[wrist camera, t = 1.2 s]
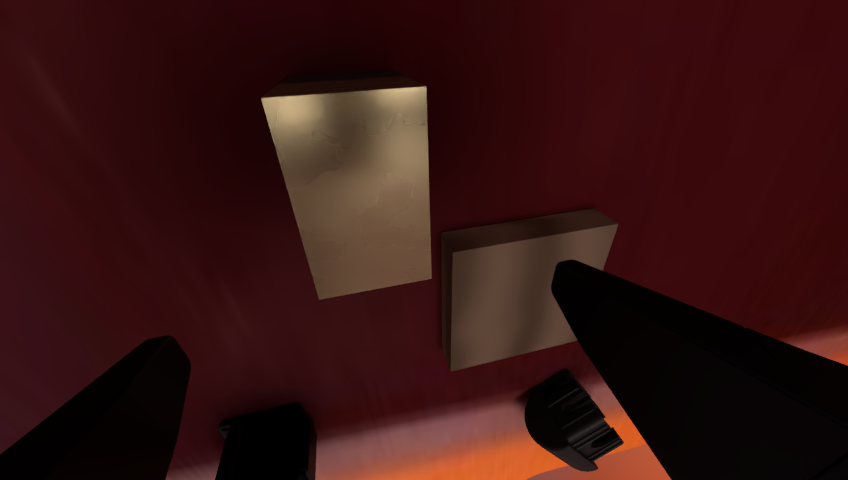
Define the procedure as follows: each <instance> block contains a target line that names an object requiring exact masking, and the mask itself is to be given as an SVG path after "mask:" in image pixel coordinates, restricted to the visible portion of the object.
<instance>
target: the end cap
mask: <svg viewBox="0 0 848 480" xmlns="http://www.w3.org/2000/svg"><path fill="white" fill-rule="evenodd" d="M604 418H605V416H604V415H603V413H602V412H601V410H600V409H599V408H598V406H597V405H596V404H595V402H594V401H593V400H592V399H591V397H590V396H589V394H588V393H587V392H586V390H585V389H584V388H583V387H582V386H581V385H580V383H579V382H578V381H577V380H576V379H575V378H574V376H573V375H572V374H571V373H570V372H569V371H568V369H563V370H561V371H559V372H558V373H556V374H555V375H553V376H551V377H550V378H548V379H547V380H545V381H544V382H542V383H540V384H539V385H537V386H536V387H535V388H534V389H533V390H532V392H531V395H530V397H529V400H528V402H527V404H526V408H525V423H526V427H527V429H528V432H529V433H530V435H531V437H532V438H533V439H534V440H535V442H536V443H537V444H539V445H540V446H541V447H543V448H544V449H546V450H547V451H549V452H550V453H552V454H553V455H555V456H556V457H558V458H559V459H561V460H562V461H564V462H565V463H567V464H568V465H570V466H571V467H573V468H575V469H577V470H580V471H587V472H588V471H594V470H596V469H598V467H597V465H596V464H595V462H594V461H595V460H596V459H598V458H600V457H602V456H603V455H605V454H607V453H609V452H610V451H612V450H614V449H615V448H617V447H619V446H621V445H622V444H623V443H624V442H623V441H622V439H621V438H620V437H619V435H618V434H617V432H616V431H615V430H614V428H613V427H612V428H611V427H610V426H609V425H608V424H607V423H606V421H605V420H604Z"/></svg>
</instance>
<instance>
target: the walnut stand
mask: <svg viewBox="0 0 848 480" xmlns="http://www.w3.org/2000/svg"><path fill="white" fill-rule="evenodd" d="M617 227H618V223H616V222H615V221H613V220H612V219H610V218H609V217H607V216H606V215H604V214H602V213H601V212H599V211H598V210H596V209H595V208H591V209H585V210H579V211H572V212H566V213H560V214H554V215H547V216H541V217H535V218H529V219H522V220H516V221H510V222H504V223H497V224H491V225H485V226H479V227H472V228H466V229H460V230H454V231H447V232H441V268H442V349H443V352H444V355H445V357H446V360H447V363H448V366H449V369H450V371H455V370H459V369H463V368H467V367H471V366H475V365H479V364H483V363H488V362H492V361H496V360H500V359H504V358H508V357H512V356H516V355H520V354H524V353H528V352H532V351H536V350H540V349H545V348H549V347H553V346H557V345H561V344H565V343H569V342H573V341H577V339H576V337H575V335H574V333H573V331H572V330H571V328H570V326H569V324H568V322H567V320H566V319H565V317H564V315H563V313H562V311H561V309H560V307H559V306H558V304H557V302H556V300H555V298H554V296H553V294H552V291H551V283H552V279H553V275H554V271H555V267H556V265H557V263H558V262H561V261H566V260H577V261H579V262H582V263H584V264H587V265H589V266H592V267H594V268H597V269H599V270H602V271H603V268H604V265H605V262H606V259H607V256H608V253H609V250H610V247H611V244H612V241H613V239H614V236H615V233H616V230H617Z"/></svg>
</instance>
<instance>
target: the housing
mask: <svg viewBox="0 0 848 480" xmlns="http://www.w3.org/2000/svg"><path fill="white" fill-rule="evenodd" d="M261 100H262V103H263V107H264V110H265V114H266V117H267V121H268V124H269V128H270V131H271V135H272V138H273V142H274V145H275V148H276V152H277V155H278V159H279V162H280V166H281V169H282V173H283V176H284V180H285V183H286V187H287V190H288V193H289V197H290V200H291V204H292V207H293V211H294V214H295V218H296V221H297V225H298V228H299V232H300V235H301V238H302V242H303V245H304V249H305V252H306V256H307V259H308V263H309V266H310V270H311V273H312V277H313V280H314V283H315V287H316V290H317V294H318V297H319V300H320V299H326V298H331V297H336V296H342V295H347V294H352V293H358V292H363V291H368V290H374V289H379V288H384V287H390V286H395V285H400V284H406V283H411V282H416V281H422V280H427V279H432V275H431V238H430V201H429V164H428V127H427V89H426V86H425V85H423V84H421V83H419V82H417V81H415V80H413V79H410V78H408V77H406V76H404V75H402V74H400V73H398V72H396V71H394V70H392V69H391V70H375V71H358V72H341V73H324V74H308V75H291V76H287V77H285V78H284V79H283V80H282V81H281V82H279V83H278V84H277V85H276V86H275V87H274V88H272V89H271V90H270V91H269V92H268V93H266V94H265V95H264V96H263V97H262V98H261Z"/></svg>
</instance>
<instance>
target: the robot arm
mask: <svg viewBox="0 0 848 480" xmlns="http://www.w3.org/2000/svg"><path fill="white" fill-rule="evenodd" d="M551 291H552V294H553V296H554V298H555V300H556V302H557V304H558V306H559V307H560V309H561V311H562V313H563V315H564V317H565V319H566V320H567V322H568V324H569V326H570V328H571V330H572V331H573V333H574V335H575V337H576V339H577V340H578V342H579V344H580V345H581V347H582V348H583V350H584V352H585V353H586V355H587V356H588V357H589V359H590V360H591V362H592V363H593V365H594V366H595V368H596V369H597V371H598V372H599V374H600V375H601V377H602V378H603V380H604V381H605V383H606V384H607V385H608V387H609V388H610V390H611V391H612V393H613V394H614V396H615V397H616V399H617V400H618V402H619V403H620V405H621V406H622V408H623V409H624V410H625V412H626V413H627V415H628V416H629V418H630V419H631V421H632V422H633V424H634V425H635V427H636V428H637V430H638V431H639V433H640V434H641V436H642V437H643V438H644V440H645V441H646V443H647V444H648V446H649V447H650V449H651V450H652V452H653V453H654V455H655V456H656V458H657V459H658V461H659V462H660V463H661V465H662V466H663V468H664V469H665V471H666V472H667V474H668V475H669V477H670V478H671V480H848V366H847V365H844V364H841V363H839V362H836V361H833V360H830V359H827V358H825V357H822V356H819V355H816V354H814V353H811V352H808V351H805V350H803V349H800V348H797V347H795V346H792V345H790V344H787V343H784V342H782V341H779V340H777V339H774V338H771V337H769V336H766V335H764V334H761V333H759V332H756V331H754V330H751V329H749V328H744V327H743V326H741V325H738V324H736V323H733V322H731V321H728V320H726V319H723V318H721V317H718V316H716V315H713V314H711V313H708V312H706V311H703V310H700V309H698V308H695V307H693V306H690V305H688V304H685V303H683V302H680V301H678V300H675V299H673V298H670V297H668V296H665V295H663V294H660V293H657V292H655V291H652V290H650V289H647V288H645V287H642V286H640V285H637V284H635V283H632V282H630V281H627V280H625V279H622V278H620V277H617V276H614V275H612V274H609V273H607V272H604V271H602V270H599V269H597V268H594V267H592V266H589V265H587V264H584V263H582V262H579V261H577V260H566V261H561V262H558V263H557V265H556V267H555V271H554V275H553V279H552V283H551ZM190 370H191V365H190V361H189V358H188V357H187V355H186V354H185V352H184V351H183V349H182V348H181V346H180V345H179V343H178V342H177V341H176V339H175V338H174V337H172V336H161V337H156V338H151V339H148V340H146V341H144V342H143V343H141V344H140V345H139V346H138V347H136V348H135V349H134V350H133V351H131V352H130V353H129V354H128V355H126V356H125V357H124V358H122V359H121V360H120V361H119V362H117V363H116V364H115V365H114V366H112V367H111V368H110V369H108V370H107V371H106V372H105V373H103V374H102V375H101V376H100V377H98V378H97V379H96V380H94V381H93V382H92V383H91V384H89V385H88V386H87V387H86V388H84V389H83V390H82V391H81V392H79V393H78V394H77V395H75V396H74V397H73V398H72V399H70V400H69V401H68V402H67V403H65V404H64V405H63V406H61V407H60V408H59V409H58V410H56V411H55V412H54V413H53V414H51V415H50V416H49V417H47V418H46V419H45V420H44V421H42V422H41V423H40V424H39V425H37V426H36V427H35V428H33V429H32V430H31V431H30V432H28V433H27V434H26V435H25V436H23V437H22V438H21V439H19V440H18V441H17V442H16V443H14V444H13V445H12V446H11V447H9V448H8V449H7V450H6V451H4V452H3V453H2V454H0V480H165V479H166V476H167V472H168V469H169V466H170V463H171V460H172V456H173V453H174V449H175V446H176V442H177V437H178V433H179V428H180V423H181V418H182V412H183V407H184V402H185V397H186V392H187V387H188V381H189V376H190ZM218 431H219V433H220V434H221V435H222V437H223V438H224V439H225V444H224V448H223V452H222V455H221V459H220V463H219V467H218V471H217V474H216V478H215V480H315V470H316V442H317V434H316V432H315V430H314V427H313V425H312V423H311V421H309V420H307V418H306V415H305V413H304V411H303V409H302V406H301V405H299V404H295V405H290V406H286V407H282V408H278V409H274V410H270V411H265V412H261V413H257V414H253V415H249V416H245V417H241V418H237V419H232V420H228V421H224V422H222V423H220V425H219V428H218Z"/></svg>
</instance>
